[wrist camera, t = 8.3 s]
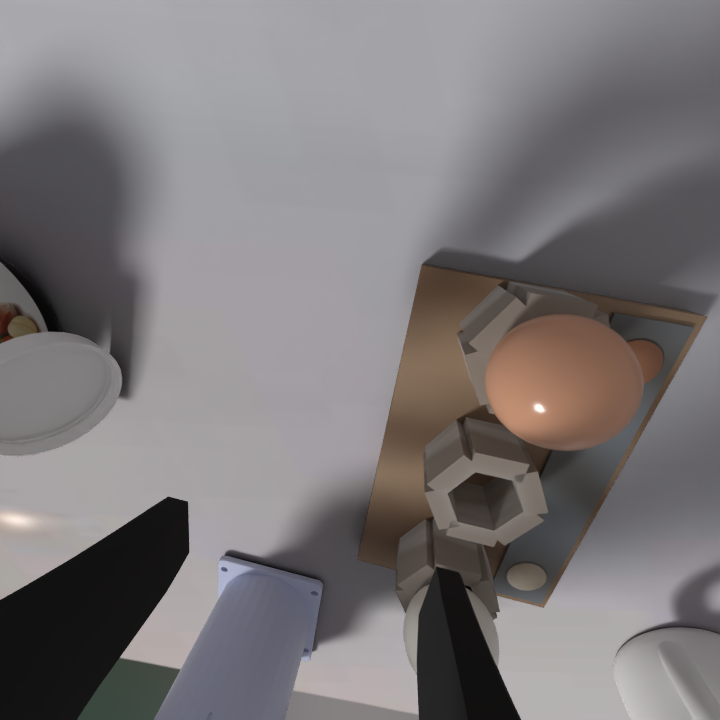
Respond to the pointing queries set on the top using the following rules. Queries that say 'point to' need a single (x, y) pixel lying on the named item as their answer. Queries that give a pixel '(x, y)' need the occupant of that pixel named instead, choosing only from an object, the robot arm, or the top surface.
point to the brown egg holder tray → (496, 442)
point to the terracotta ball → (564, 382)
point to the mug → (670, 675)
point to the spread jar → (46, 373)
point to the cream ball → (412, 625)
